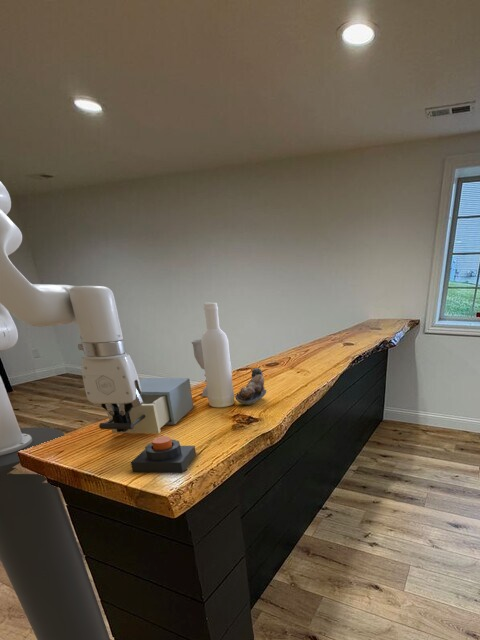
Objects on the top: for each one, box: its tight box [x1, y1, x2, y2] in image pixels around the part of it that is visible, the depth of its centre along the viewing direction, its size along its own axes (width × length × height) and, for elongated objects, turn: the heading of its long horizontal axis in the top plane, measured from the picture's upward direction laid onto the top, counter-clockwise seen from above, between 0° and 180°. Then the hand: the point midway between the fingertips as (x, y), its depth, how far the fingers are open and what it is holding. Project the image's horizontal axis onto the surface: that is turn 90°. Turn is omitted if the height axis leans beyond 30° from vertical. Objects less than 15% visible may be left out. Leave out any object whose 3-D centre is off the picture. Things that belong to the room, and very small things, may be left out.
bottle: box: [201, 302, 235, 408], centre depth 104 cm, size 8×8×30 cm
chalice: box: [190, 339, 208, 398], centre depth 116 cm, size 7×7×18 cm
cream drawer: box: [98, 395, 171, 434], centre depth 87 cm, size 21×11×7 cm, turn 0°
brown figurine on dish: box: [234, 367, 267, 406], centre depth 110 cm, size 12×7×10 cm, turn 160°
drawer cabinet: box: [139, 377, 194, 426], centre depth 98 cm, size 15×13×9 cm
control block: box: [130, 439, 197, 473], centre depth 72 cm, size 10×8×4 cm
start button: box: [151, 435, 172, 450], centre depth 71 cm, size 4×4×2 cm
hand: (124, 429), depth 80 cm, fingers closed
